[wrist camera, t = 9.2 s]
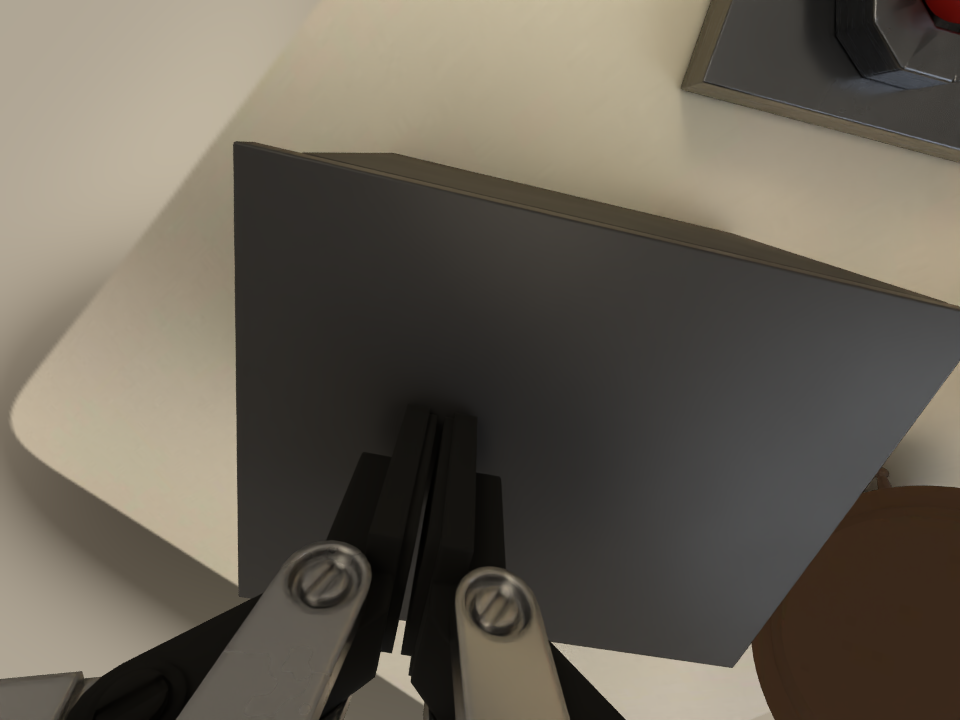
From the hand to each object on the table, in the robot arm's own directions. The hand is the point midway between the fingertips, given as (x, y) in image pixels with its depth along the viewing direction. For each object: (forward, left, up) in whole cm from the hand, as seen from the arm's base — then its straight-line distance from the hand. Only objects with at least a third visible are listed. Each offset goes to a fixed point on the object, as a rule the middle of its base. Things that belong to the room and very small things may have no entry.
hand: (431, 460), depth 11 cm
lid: (+3, 0, -1) cm, 3 cm away
